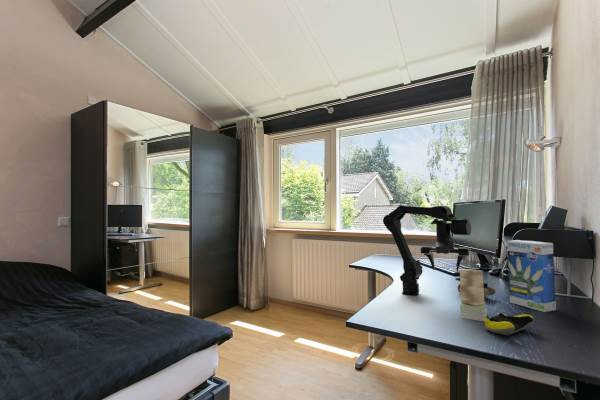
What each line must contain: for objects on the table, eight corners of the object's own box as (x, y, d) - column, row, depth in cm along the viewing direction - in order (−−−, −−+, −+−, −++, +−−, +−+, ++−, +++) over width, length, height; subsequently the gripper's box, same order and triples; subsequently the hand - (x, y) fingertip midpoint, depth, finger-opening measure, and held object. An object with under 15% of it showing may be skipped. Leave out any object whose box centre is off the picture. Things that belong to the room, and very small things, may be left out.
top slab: (460, 311, 107) (460, 304, 108) (464, 306, 113) (463, 299, 113) (482, 315, 103) (482, 308, 103) (485, 309, 108) (485, 303, 108)
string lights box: (509, 302, 122) (505, 240, 123) (521, 300, 124) (517, 239, 125) (545, 312, 109) (541, 243, 110) (557, 309, 112) (553, 242, 113)
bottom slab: (460, 319, 107) (460, 312, 107) (462, 312, 113) (462, 305, 113) (486, 323, 102) (486, 316, 102) (486, 316, 109) (486, 309, 109)
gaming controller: (537, 332, 93) (504, 322, 101) (536, 315, 93) (503, 306, 102) (511, 343, 86) (477, 331, 95) (510, 324, 86) (476, 314, 95)
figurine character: (496, 303, 126) (463, 291, 140) (497, 285, 125) (464, 275, 139) (486, 305, 123) (453, 293, 137) (487, 288, 123) (454, 277, 136)
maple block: (461, 302, 109) (459, 269, 110) (469, 300, 112) (467, 268, 113) (476, 305, 104) (474, 271, 106) (484, 303, 107) (482, 270, 109)
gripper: (417, 235, 126) (418, 272, 125) (466, 236, 116) (468, 276, 115) (422, 233, 135) (423, 267, 135) (468, 234, 125) (470, 271, 124)
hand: (445, 270), depth 127 cm, fingers open, 9 cm apart
